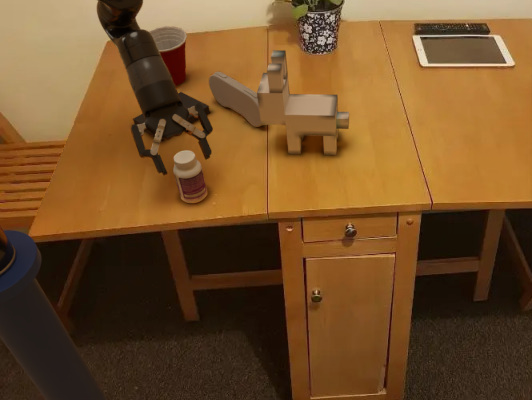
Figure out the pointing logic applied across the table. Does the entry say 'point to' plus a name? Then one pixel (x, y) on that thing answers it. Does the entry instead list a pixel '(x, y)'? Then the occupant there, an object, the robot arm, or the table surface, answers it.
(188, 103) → the scale
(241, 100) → the game controller
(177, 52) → the plastic cup
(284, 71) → the toy llama
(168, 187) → the table surface
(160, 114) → the robot arm
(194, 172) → the pill bottle
